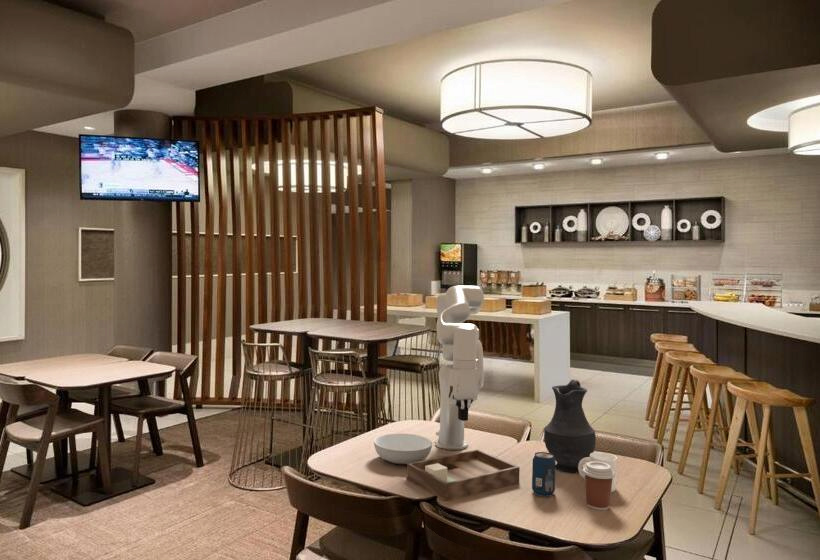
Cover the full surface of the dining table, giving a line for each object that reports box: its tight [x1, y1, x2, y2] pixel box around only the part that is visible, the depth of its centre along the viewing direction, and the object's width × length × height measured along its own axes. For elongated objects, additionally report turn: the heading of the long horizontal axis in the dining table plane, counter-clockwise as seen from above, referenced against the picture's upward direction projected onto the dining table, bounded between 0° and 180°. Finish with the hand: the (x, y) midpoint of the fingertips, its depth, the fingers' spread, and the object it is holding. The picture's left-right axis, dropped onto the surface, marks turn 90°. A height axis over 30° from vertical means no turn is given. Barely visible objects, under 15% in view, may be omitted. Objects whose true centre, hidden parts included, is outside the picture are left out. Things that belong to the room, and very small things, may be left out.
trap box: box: [406, 449, 520, 502], centre depth 187 cm, size 30×21×5 cm
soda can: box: [531, 451, 557, 498], centre depth 178 cm, size 7×7×12 cm
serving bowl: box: [373, 432, 433, 465], centre depth 207 cm, size 21×21×7 cm
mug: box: [578, 451, 618, 493], centre depth 184 cm, size 12×8×10 cm
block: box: [425, 463, 447, 481], centre depth 181 cm, size 5×5×4 cm
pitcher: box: [543, 379, 597, 474], centre depth 202 cm, size 17×21×30 cm
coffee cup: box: [583, 461, 615, 511], centre depth 169 cm, size 9×9×12 cm
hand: (463, 419), depth 189 cm, fingers closed
